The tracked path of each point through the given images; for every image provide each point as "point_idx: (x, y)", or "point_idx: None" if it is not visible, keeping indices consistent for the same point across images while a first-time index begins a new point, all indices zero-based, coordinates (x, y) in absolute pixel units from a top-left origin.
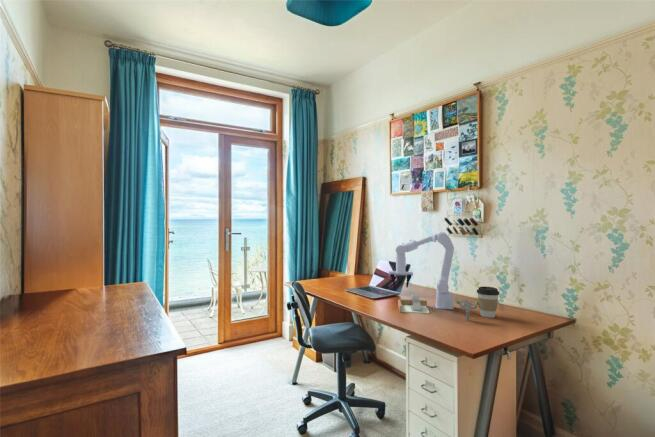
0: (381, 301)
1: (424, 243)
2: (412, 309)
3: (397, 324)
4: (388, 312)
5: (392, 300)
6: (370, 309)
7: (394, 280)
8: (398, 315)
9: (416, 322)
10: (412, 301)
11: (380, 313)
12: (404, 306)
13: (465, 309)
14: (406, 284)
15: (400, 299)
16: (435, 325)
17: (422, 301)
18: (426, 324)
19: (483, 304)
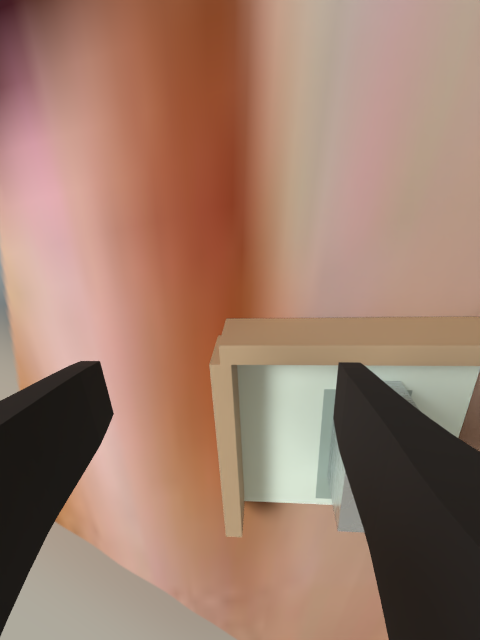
0: (41, 208)
1: None
2: (325, 462)
3: (219, 626)
4: (161, 501)
5: (148, 123)
6: None
7: (23, 571)
8: (223, 540)
9: (307, 610)
10: (343, 486)
11: (119, 519)
12: (272, 395)
13: None
14: (352, 411)
15: (235, 359)
16: (387, 633)
17: (478, 361)
18: (348, 626)
19: None
